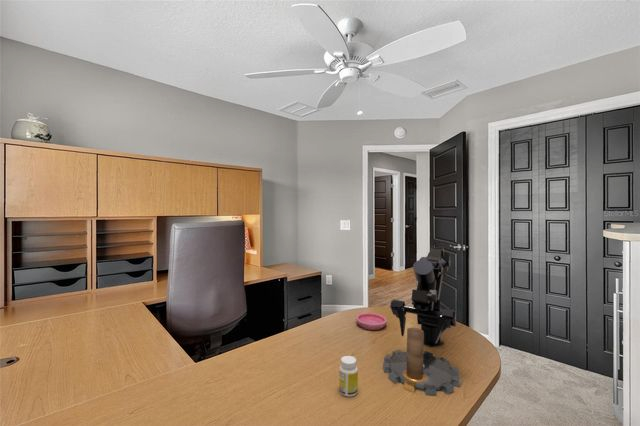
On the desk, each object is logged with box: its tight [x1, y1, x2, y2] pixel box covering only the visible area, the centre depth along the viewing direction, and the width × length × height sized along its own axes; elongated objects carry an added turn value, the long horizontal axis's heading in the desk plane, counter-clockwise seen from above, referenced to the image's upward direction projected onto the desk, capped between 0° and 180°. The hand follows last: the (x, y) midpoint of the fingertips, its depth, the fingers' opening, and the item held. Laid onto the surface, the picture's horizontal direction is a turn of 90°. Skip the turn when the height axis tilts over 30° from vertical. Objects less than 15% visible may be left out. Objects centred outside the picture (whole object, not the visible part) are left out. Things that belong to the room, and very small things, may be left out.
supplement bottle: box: [338, 355, 359, 398], centre depth 75 cm, size 5×5×8 cm
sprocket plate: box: [382, 349, 461, 396], centre depth 84 cm, size 21×21×2 cm
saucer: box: [355, 312, 388, 331], centre depth 118 cm, size 12×12×3 cm
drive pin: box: [406, 327, 425, 380], centre depth 80 cm, size 4×4×12 cm
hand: (418, 339), depth 83 cm, fingers open, 9 cm apart
